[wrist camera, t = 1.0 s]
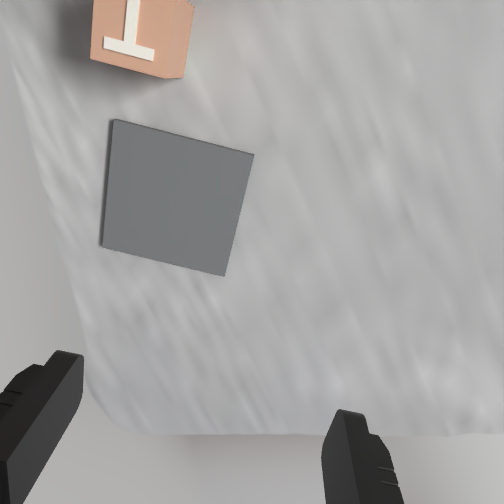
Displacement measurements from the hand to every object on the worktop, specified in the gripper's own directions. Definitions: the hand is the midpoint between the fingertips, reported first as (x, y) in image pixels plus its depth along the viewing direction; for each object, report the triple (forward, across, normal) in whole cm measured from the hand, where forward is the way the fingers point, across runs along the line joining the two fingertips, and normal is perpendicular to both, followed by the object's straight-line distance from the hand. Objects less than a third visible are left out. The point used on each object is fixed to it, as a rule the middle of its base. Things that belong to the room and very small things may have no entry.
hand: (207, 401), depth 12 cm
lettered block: (+25, +10, -10) cm, 29 cm away
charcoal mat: (+25, +7, +3) cm, 26 cm away
